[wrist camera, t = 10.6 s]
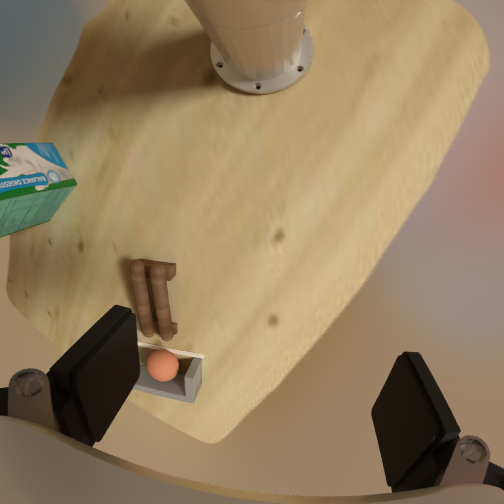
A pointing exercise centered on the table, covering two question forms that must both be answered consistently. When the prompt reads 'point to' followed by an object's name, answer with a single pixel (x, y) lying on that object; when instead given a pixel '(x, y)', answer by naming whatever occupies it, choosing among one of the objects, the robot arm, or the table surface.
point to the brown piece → (160, 294)
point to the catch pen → (173, 383)
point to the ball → (162, 365)
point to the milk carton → (31, 185)
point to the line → (172, 350)
